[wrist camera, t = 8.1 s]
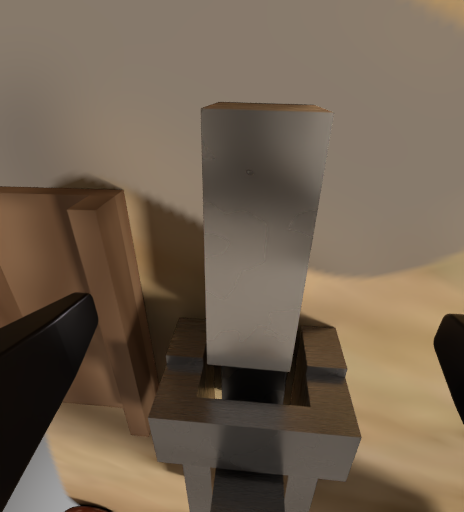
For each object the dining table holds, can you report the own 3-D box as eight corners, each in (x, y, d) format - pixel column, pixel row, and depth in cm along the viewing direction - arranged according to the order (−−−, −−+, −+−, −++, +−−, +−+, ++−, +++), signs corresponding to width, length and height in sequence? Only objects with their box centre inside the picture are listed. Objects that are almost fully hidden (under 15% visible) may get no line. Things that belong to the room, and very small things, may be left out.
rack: (123, 189, 12) (95, 210, 10) (161, 398, 18) (148, 436, 16) (-39, 185, 13) (-95, 204, 11) (52, 389, 19) (28, 424, 17)
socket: (335, 328, 14) (364, 429, 10) (299, 492, 22) (307, 587, 18) (179, 318, 15) (145, 409, 11) (197, 480, 23) (182, 570, 19)
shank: (313, 104, 10) (334, 112, 7) (284, 312, 15) (289, 371, 12) (219, 102, 10) (200, 108, 7) (219, 307, 15) (207, 364, 12)
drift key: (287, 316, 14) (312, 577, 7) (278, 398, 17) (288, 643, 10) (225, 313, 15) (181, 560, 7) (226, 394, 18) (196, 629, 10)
